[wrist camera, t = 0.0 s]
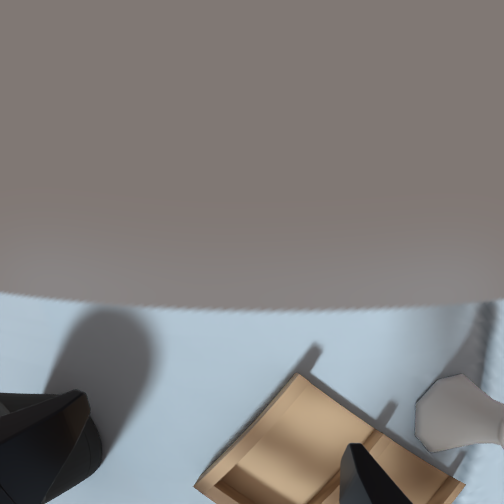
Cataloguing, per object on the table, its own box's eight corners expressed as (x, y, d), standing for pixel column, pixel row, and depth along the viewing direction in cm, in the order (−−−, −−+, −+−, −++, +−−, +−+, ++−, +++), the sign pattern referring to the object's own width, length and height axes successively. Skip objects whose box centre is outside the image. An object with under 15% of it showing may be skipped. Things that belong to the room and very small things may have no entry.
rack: (368, 566, 15) (375, 578, 13) (200, 475, 20) (193, 486, 18) (452, 477, 18) (466, 484, 16) (296, 372, 23) (299, 374, 20)
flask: (464, 360, 22) (539, 351, 12) (481, 423, 20) (551, 434, 10) (402, 399, 21) (469, 414, 12) (422, 464, 19) (484, 499, 10)
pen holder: (25, 390, 23) (-47, 388, 13) (95, 388, 23) (20, 393, 13) (45, 474, 20) (-19, 495, 10) (119, 484, 20) (59, 524, 10)
